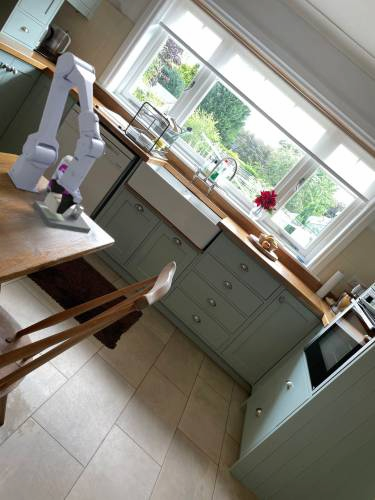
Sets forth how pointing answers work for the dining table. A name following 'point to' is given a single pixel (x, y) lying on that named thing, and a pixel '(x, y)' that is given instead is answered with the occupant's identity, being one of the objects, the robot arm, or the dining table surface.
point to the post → (77, 212)
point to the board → (60, 219)
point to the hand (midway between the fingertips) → (55, 207)
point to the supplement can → (61, 167)
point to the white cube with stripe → (54, 202)
